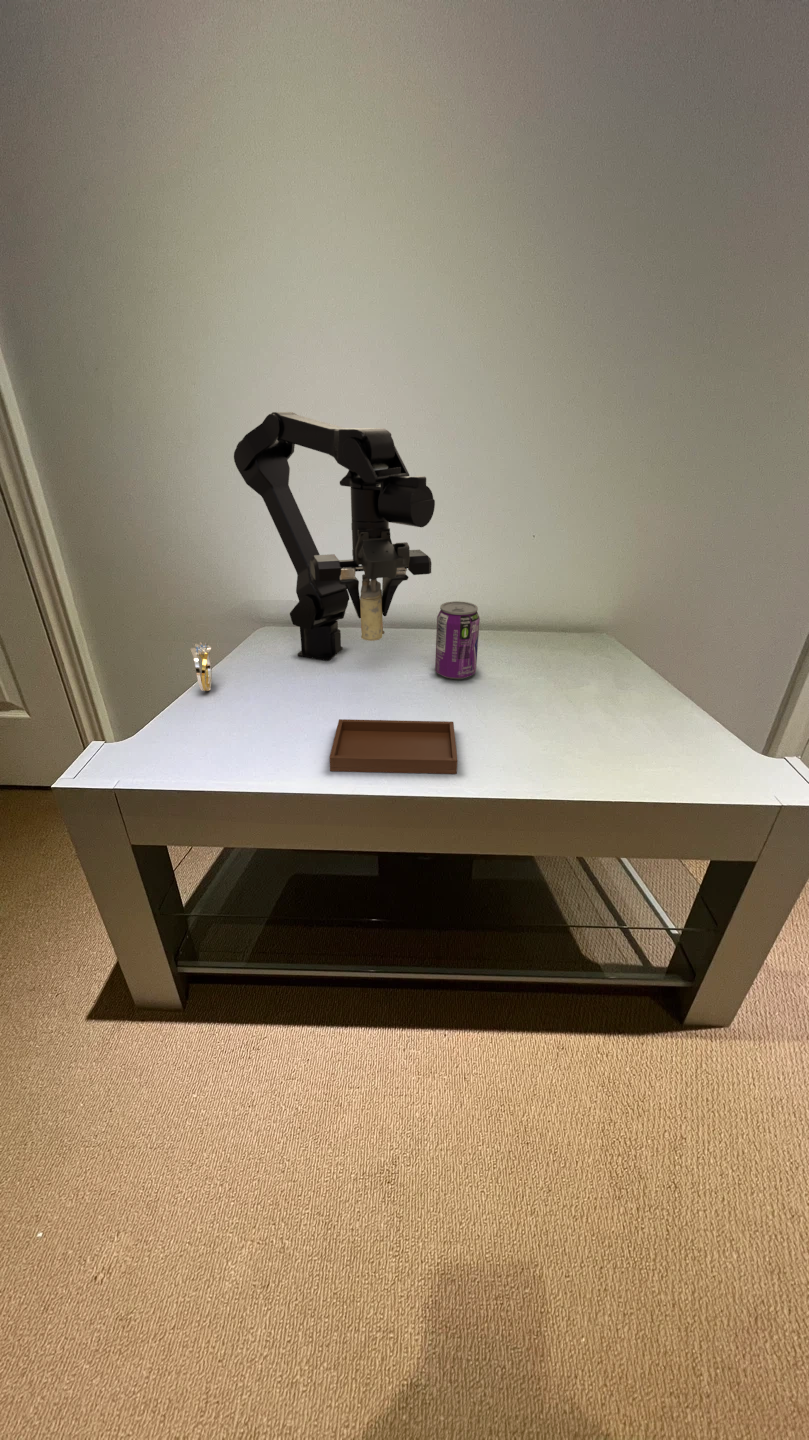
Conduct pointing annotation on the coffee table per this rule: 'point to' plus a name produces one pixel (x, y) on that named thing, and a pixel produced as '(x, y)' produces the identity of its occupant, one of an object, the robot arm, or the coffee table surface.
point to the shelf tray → (394, 747)
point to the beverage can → (457, 640)
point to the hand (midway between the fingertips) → (371, 616)
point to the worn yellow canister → (371, 609)
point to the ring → (203, 665)
